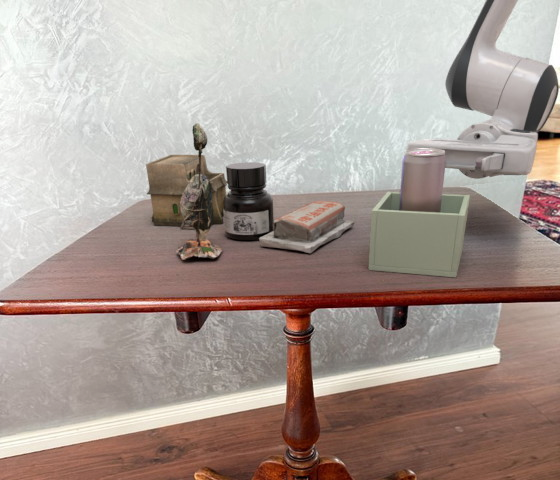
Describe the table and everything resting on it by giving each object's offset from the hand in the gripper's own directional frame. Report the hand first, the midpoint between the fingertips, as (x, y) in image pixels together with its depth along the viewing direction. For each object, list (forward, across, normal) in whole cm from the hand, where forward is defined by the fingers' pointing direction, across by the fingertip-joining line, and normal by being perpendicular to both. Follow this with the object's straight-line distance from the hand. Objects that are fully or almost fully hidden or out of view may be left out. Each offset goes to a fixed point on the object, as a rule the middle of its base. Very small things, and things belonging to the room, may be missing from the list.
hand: (449, 162), depth 83 cm
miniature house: (+10, -49, +13) cm, 52 cm away
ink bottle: (+11, -32, +13) cm, 36 cm away
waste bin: (+8, 0, +13) cm, 16 cm away
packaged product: (+7, -22, +13) cm, 26 cm away
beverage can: (+9, 0, +12) cm, 15 cm away
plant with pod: (+24, -32, +13) cm, 42 cm away
